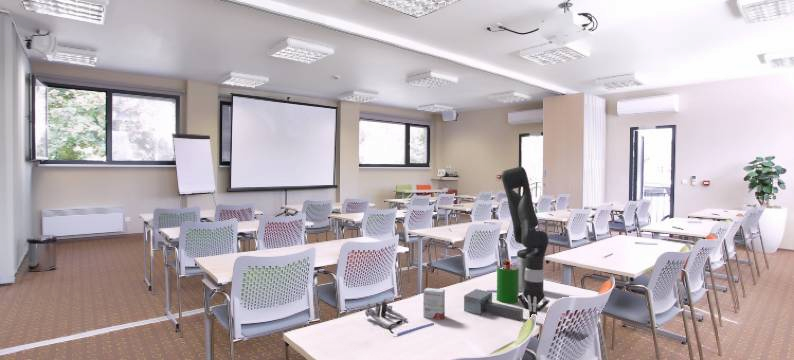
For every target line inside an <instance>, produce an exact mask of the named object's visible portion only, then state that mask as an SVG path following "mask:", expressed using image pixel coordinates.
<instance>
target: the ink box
mask: <svg viewBox="0 0 794 360" xmlns="http://www.w3.org/2000/svg"><path fill="white" fill-rule="evenodd" d="M445 291H446V290H445V289H441V288H430V287H425V289H424V290H423V311H422V312H423V314H422V315H423V318H427V319H435V320H443V319H444V318H445V315H446V314H445V313H446V312H445V311H446V307H445V306H446V304H445V302H446V300H445V299H446V296H445V295H446V294H445V293H446V292H445Z"/></svg>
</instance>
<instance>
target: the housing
mask: <svg viewBox="0 0 794 360" xmlns="http://www.w3.org/2000/svg"><path fill="white" fill-rule="evenodd" d="M463 300H464V301H463V312H467V313H471V314H474V315H479V316H482V315H483V314H484V313H485V312H484V301H489V302H493V292H492V291H486V290H482V289H478V288H476V289H474V290H472V291H470V292H468V293H466V294H464V295H463Z"/></svg>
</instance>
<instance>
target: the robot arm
mask: <svg viewBox="0 0 794 360" xmlns="http://www.w3.org/2000/svg"><path fill="white" fill-rule="evenodd" d="M501 182H502V184H503V185H502V186H503V188H504V192H505V195H506V198H507V204H508V208H509V215H510V217H511V222H512V226H513V227H512V228H513V236H514V241H515V242H516V243H517V244H521V245H523V246H524V247H525V248H524V249H519V250H518V251H517V253H516V269H517V268H519V292H522V293H521V294H518V301H520V303H521V304H522V306H523V308H524V309H525V310H528V311H529V313H528V315H529V319H530V317H531V315H532V314H536V315H537V316H538V313H540V312H541V311H542V310H543V309H544V308H545V307H547V305H548V304H549V303H550V299H547V298H546V297H545V293H544V279H545V278H544V277H545V275H544V258H545V254H546V252H547V248H548V246H549V237H548V234H547V233H546V232H545V230H537V229H536V227H537V226H538V225H539V220H538V216H537V214H536V211H535V207H534V203H533V197H532V192H531V187H530V182H529V178H528V174H527V171H526V169H525V168H524V167H523V166H518V167H513V168H509V169H506V170H503V171H502V172H501ZM519 188H522V195H521V194H519V193H517V192H516V190H515V189H519ZM541 302H542V304H541V305H540V306H539V304H540V303H541Z"/></svg>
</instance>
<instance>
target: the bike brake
mask: <svg viewBox="0 0 794 360" xmlns="http://www.w3.org/2000/svg"><path fill="white" fill-rule="evenodd" d="M366 306H367V307H366V309H365V312H364V313H365V316H366V317H367V318H368V317H369V316H370V317H371V319H374V320H375V322H376V323H378V324H379V325H381V326H383V327H385V328H386V329H388V330H389V332H390V333H391V334H393V333H394V331H393V330H392V329H391V328H393V327H395V326H397V325H400V324H401V323H406V322H407V320H408V319H409V318H407V317H406V316H404V315H402V314H401V313H399V312H397V311H395V310H393V305H388V303H387V298H386V297H385V298H384V300H383V301H382V303H381V304H379V303H378V302H376V303H375V309H373V308H371V303H370V302H367V305H366ZM386 314H389V315H393V316H395V317H398V318H399V319H401V320H397V321H393V322H390V323H386V322H385V321H382V320H381V318H380V317H382V318H384V319H385V318H386V316H387V315H386Z"/></svg>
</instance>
